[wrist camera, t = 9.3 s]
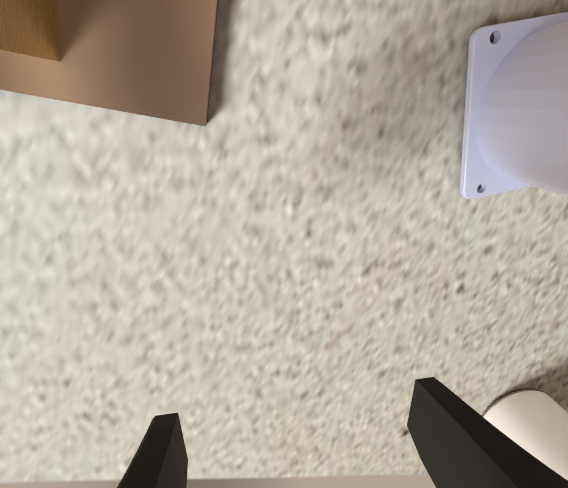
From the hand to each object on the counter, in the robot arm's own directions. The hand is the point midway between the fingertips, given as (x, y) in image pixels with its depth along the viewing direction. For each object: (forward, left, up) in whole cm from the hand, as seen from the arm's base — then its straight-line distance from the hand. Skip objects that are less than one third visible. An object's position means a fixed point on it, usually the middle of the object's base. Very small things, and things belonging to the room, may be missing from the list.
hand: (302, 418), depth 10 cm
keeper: (+7, -16, -9) cm, 20 cm away
